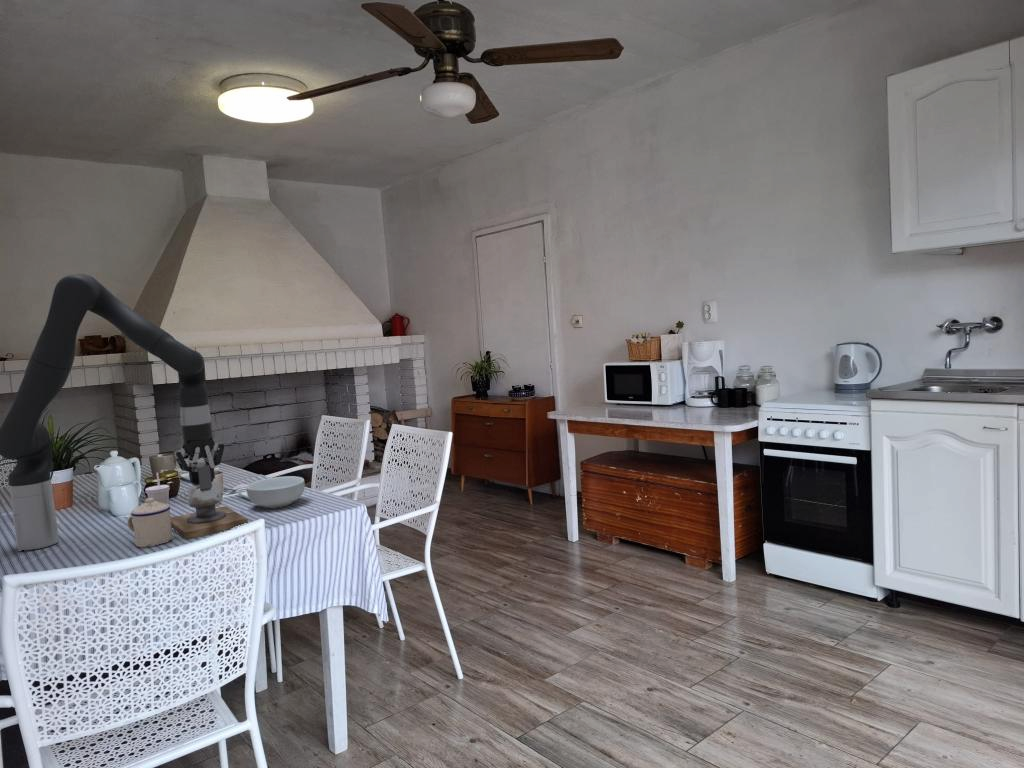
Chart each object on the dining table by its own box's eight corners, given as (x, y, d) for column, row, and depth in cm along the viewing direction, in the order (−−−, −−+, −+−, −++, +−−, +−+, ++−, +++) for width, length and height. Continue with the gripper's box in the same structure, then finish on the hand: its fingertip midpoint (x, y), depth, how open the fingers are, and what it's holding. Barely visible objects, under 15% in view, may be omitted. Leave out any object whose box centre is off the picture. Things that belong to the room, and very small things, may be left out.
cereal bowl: (236, 511, 207) (233, 488, 207) (271, 497, 223) (269, 475, 222) (284, 513, 202) (281, 489, 201) (317, 498, 217) (315, 476, 217)
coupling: (223, 503, 192) (219, 464, 191) (192, 509, 188) (187, 469, 187) (216, 497, 200) (212, 459, 199) (186, 502, 196) (181, 464, 195)
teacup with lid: (181, 536, 185) (176, 493, 183) (156, 548, 176) (150, 503, 175) (144, 536, 188) (138, 494, 186) (117, 547, 179) (111, 503, 178)
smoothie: (163, 522, 200) (157, 475, 199) (143, 522, 202) (138, 475, 200) (177, 516, 207) (172, 470, 205) (159, 516, 208) (153, 470, 207)
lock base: (185, 539, 181) (183, 517, 181) (168, 525, 197) (165, 504, 196) (248, 525, 191) (245, 504, 191) (226, 512, 207) (224, 493, 206)
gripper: (175, 426, 184) (183, 490, 185) (227, 418, 194) (233, 479, 196) (164, 425, 189) (171, 487, 190) (215, 417, 199) (221, 476, 201)
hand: (203, 482), depth 193 cm, fingers closed on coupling, 3 cm apart
